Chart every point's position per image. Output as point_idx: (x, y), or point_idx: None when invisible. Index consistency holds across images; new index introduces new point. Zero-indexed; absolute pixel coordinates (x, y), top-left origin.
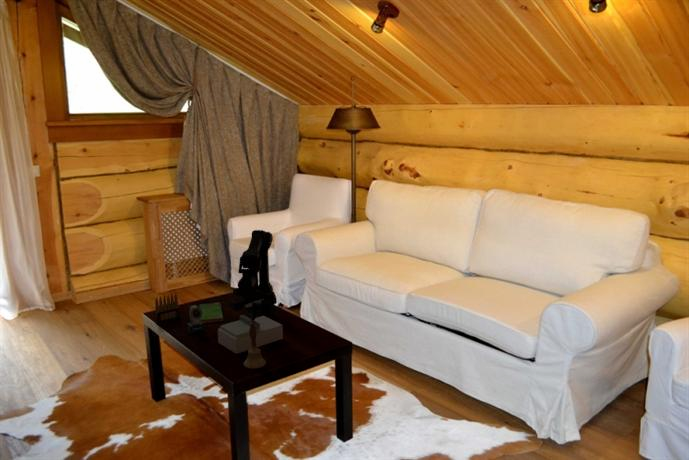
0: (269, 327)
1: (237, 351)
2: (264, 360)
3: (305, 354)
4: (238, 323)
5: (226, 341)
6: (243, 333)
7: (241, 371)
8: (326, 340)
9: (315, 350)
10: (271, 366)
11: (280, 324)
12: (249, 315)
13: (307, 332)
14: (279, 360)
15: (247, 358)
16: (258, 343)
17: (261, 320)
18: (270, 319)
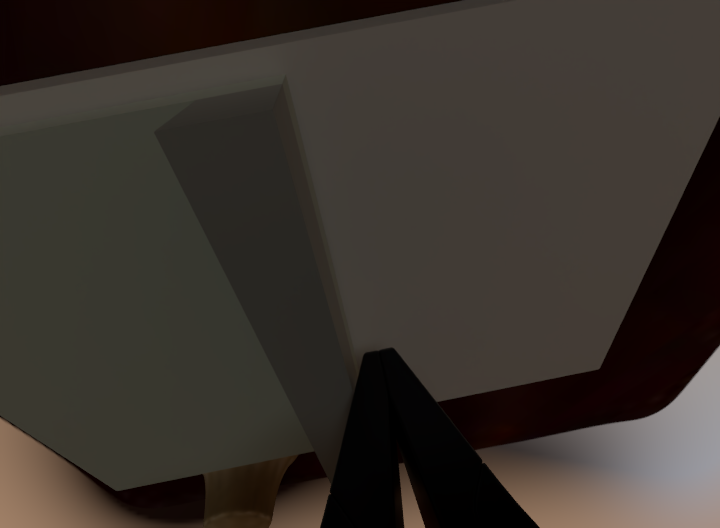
0: (483, 375)
1: None
2: (292, 461)
3: (475, 436)
4: (150, 256)
5: None
6: (189, 473)
7: None
8: (647, 374)
9: (530, 423)
10: (307, 469)
11: (599, 357)
12: (343, 447)
13: (705, 266)
14: None
15: (205, 483)
16: None
17: (571, 173)
18: (670, 203)
